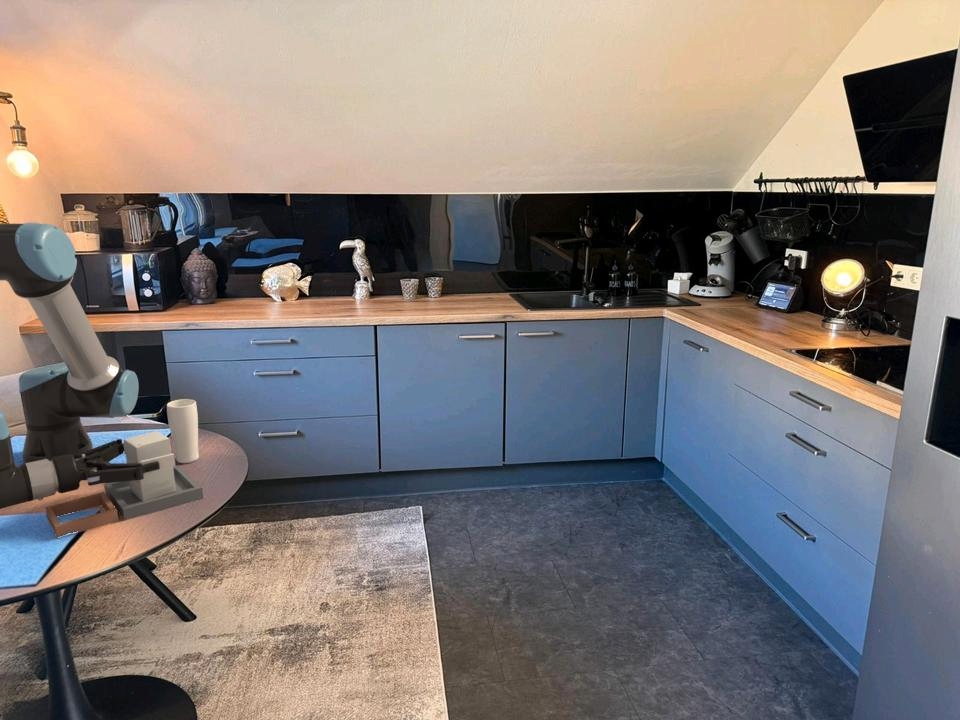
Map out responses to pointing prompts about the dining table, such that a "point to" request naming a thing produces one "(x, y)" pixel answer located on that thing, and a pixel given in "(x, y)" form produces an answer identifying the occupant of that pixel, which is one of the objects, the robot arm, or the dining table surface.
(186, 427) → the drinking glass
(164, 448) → the supplement box
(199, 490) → the charcoal tray
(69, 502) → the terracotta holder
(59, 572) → the dining table surface
